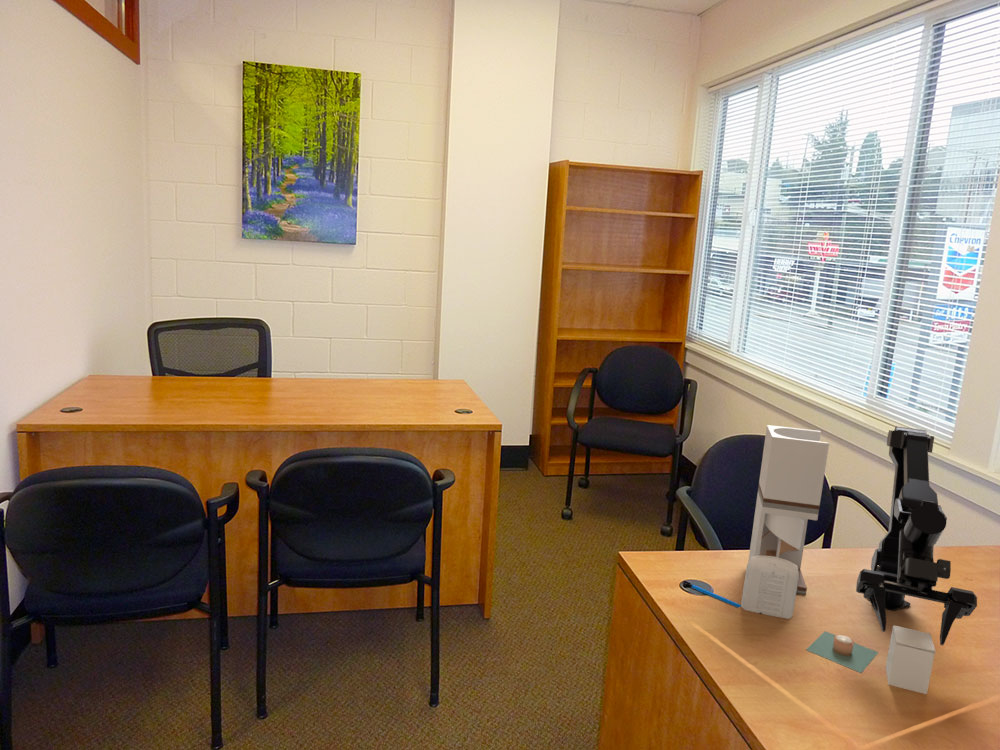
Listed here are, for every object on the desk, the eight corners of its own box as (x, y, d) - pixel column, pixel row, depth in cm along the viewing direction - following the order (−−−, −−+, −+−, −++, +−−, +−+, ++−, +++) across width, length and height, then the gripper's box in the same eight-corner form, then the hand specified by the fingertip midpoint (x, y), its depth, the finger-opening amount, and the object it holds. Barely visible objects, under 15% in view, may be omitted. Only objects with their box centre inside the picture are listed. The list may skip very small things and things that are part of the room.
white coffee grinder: (751, 587, 166) (772, 436, 160) (747, 567, 177) (766, 424, 170) (805, 596, 164) (829, 443, 157) (798, 575, 174) (820, 430, 167)
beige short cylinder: (840, 644, 144) (842, 632, 143) (855, 653, 141) (858, 642, 140) (828, 648, 142) (830, 636, 142) (843, 657, 139) (845, 645, 139)
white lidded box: (885, 669, 137) (893, 625, 136) (921, 678, 135) (930, 633, 133) (887, 687, 132) (896, 641, 130) (926, 697, 130) (935, 650, 128)
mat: (824, 633, 149) (824, 631, 149) (877, 655, 142) (878, 652, 142) (805, 652, 141) (805, 649, 141) (860, 675, 135) (861, 672, 135)
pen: (766, 621, 153) (766, 615, 153) (684, 586, 166) (685, 581, 166) (768, 619, 154) (768, 614, 153) (686, 585, 167) (687, 580, 166)
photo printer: (791, 613, 156) (800, 558, 154) (793, 623, 152) (801, 566, 150) (740, 603, 159) (747, 549, 157) (740, 612, 155) (748, 557, 153)
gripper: (867, 528, 138) (861, 609, 130) (985, 550, 131) (986, 637, 123) (858, 552, 146) (852, 629, 138) (968, 574, 139) (968, 657, 131)
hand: (912, 637), depth 132 cm, fingers open, 9 cm apart
